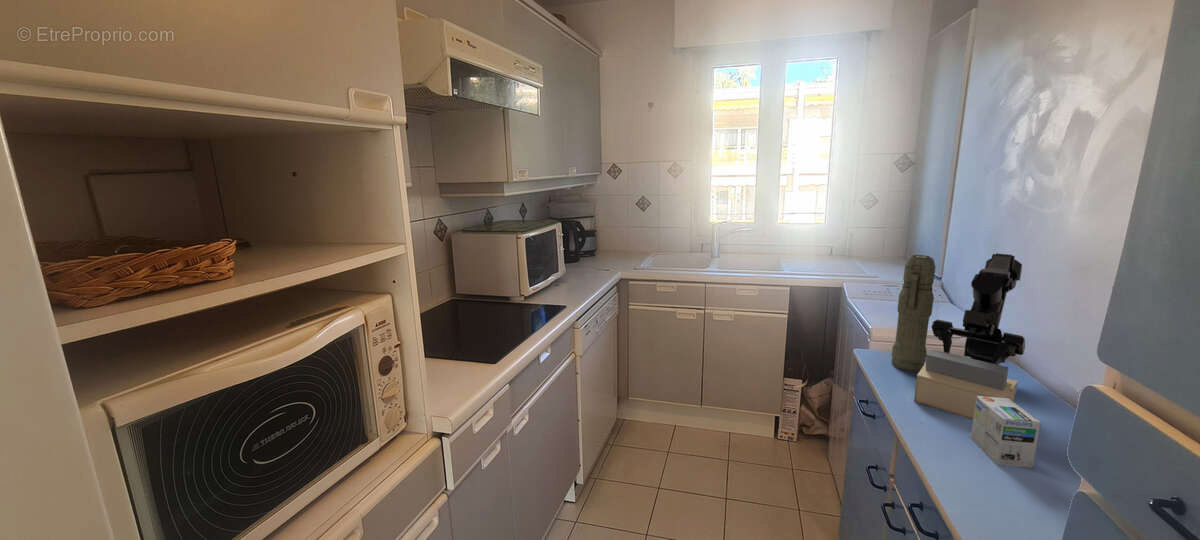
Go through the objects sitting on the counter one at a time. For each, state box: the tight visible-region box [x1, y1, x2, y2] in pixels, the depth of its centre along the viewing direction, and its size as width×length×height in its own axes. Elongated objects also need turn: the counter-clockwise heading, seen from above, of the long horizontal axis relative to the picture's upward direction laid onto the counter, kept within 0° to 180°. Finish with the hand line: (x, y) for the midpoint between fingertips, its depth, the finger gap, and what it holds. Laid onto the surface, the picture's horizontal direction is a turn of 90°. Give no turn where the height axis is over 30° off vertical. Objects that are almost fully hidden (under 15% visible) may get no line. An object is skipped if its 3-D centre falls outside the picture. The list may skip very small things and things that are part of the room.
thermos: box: [891, 254, 936, 373], centre depth 144 cm, size 9×12×35 cm
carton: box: [913, 376, 1019, 421], centre depth 122 cm, size 14×18×8 cm
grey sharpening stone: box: [916, 348, 1012, 398], centre depth 118 cm, size 7×18×6 cm, turn 40°
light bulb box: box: [970, 396, 1042, 469], centre depth 102 cm, size 11×7×11 cm, turn 168°
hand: (966, 365), depth 119 cm, fingers open, 9 cm apart
